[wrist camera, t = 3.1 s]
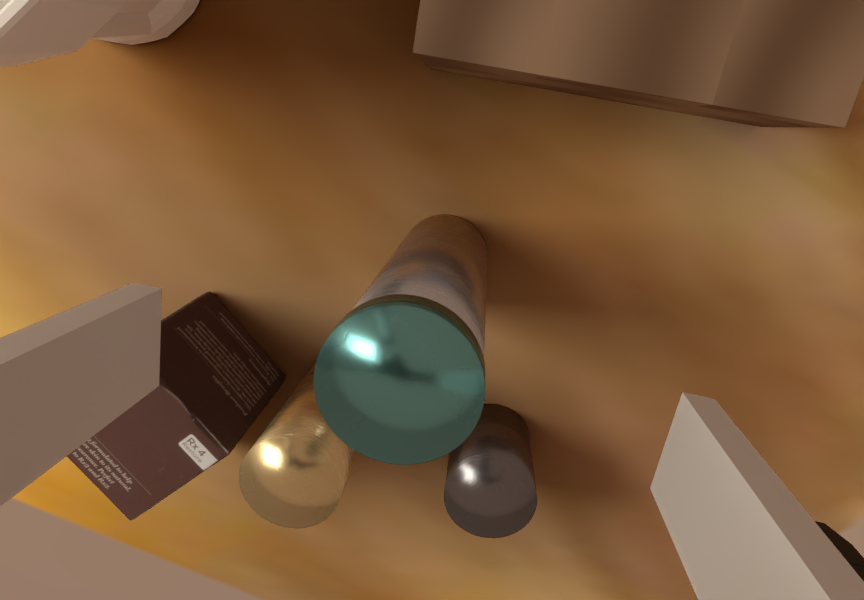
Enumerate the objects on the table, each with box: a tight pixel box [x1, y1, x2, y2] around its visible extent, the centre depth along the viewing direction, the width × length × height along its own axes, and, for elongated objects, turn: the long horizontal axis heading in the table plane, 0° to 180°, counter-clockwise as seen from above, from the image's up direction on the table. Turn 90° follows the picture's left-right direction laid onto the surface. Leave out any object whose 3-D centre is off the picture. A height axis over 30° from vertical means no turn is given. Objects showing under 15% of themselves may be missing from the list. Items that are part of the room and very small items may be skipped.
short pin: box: [444, 404, 537, 538], centre depth 27 cm, size 4×4×5 cm
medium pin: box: [239, 363, 358, 528], centre depth 26 cm, size 4×4×8 cm
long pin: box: [313, 215, 487, 465], centre depth 20 cm, size 4×4×14 cm
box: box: [67, 292, 285, 520], centre depth 26 cm, size 6×6×7 cm
